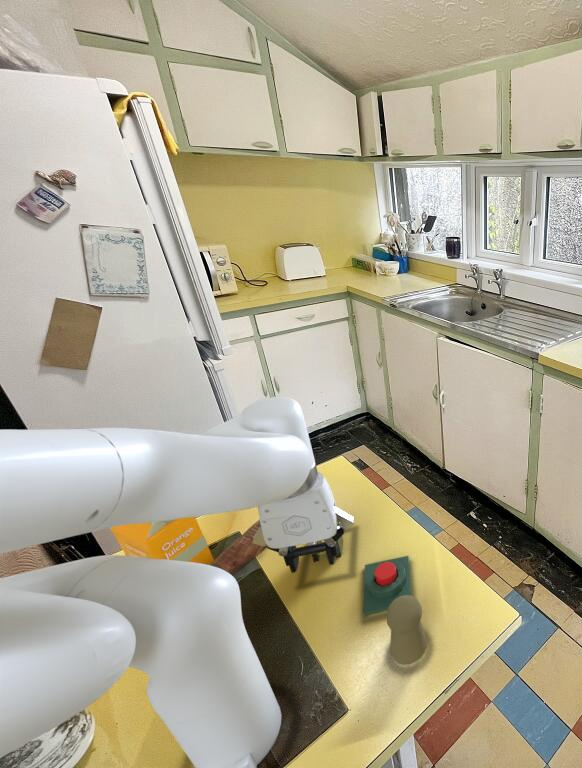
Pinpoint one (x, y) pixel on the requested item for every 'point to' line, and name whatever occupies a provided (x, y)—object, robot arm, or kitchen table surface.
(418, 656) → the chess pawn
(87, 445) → the robot arm
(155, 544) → the orange juice
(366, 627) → the kitchen table surface
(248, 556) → the salami
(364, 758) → the kitchen table surface
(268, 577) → the kitchen table surface
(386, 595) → the button box
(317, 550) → the lever
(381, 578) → the button
